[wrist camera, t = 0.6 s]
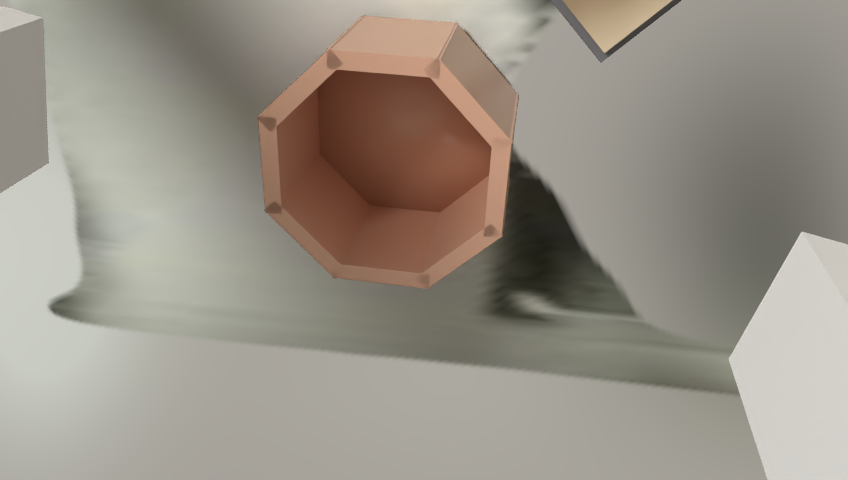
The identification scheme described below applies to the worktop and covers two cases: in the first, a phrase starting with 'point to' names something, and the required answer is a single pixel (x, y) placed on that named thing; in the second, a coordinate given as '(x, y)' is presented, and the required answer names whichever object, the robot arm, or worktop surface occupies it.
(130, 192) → the worktop surface
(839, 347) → the robot arm
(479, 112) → the terracotta bowl
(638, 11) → the oak lid
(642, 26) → the rubber mat
